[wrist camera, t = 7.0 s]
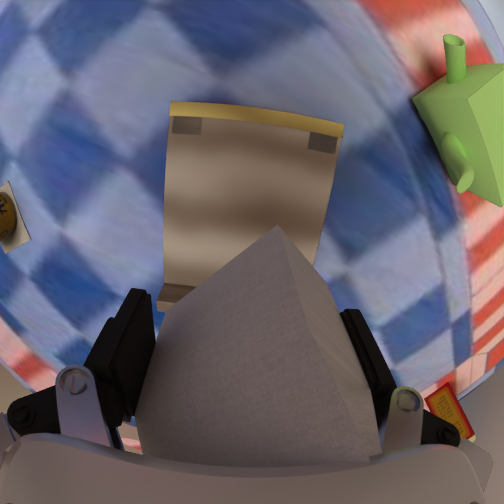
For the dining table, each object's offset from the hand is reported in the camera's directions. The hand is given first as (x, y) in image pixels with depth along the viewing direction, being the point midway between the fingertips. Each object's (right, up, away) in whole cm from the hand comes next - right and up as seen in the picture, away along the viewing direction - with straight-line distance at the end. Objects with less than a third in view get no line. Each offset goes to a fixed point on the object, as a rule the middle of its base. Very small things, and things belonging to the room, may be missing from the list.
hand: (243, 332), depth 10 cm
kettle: (+22, +17, +12) cm, 30 cm away
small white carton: (0, +1, +2) cm, 3 cm away
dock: (0, +8, +16) cm, 17 cm away
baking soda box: (+44, -31, +36) cm, 65 cm away
